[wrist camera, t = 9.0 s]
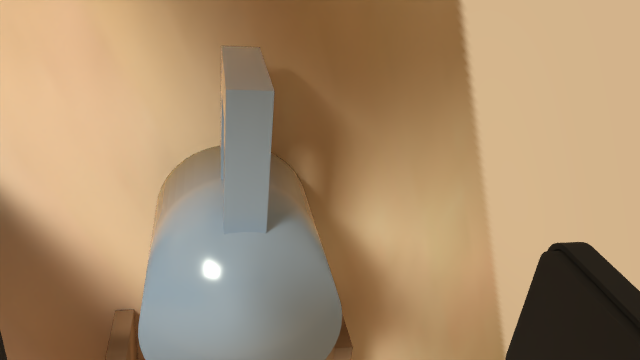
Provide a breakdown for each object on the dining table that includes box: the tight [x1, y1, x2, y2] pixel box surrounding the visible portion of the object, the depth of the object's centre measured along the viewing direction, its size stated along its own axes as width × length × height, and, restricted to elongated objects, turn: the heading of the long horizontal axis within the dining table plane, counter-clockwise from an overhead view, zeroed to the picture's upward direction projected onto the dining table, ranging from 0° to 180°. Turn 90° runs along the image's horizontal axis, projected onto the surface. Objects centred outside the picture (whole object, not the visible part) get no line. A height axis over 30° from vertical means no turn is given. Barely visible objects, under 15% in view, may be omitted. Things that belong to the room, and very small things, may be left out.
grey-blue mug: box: [138, 46, 342, 360], centre depth 24 cm, size 14×8×9 cm, turn 175°
